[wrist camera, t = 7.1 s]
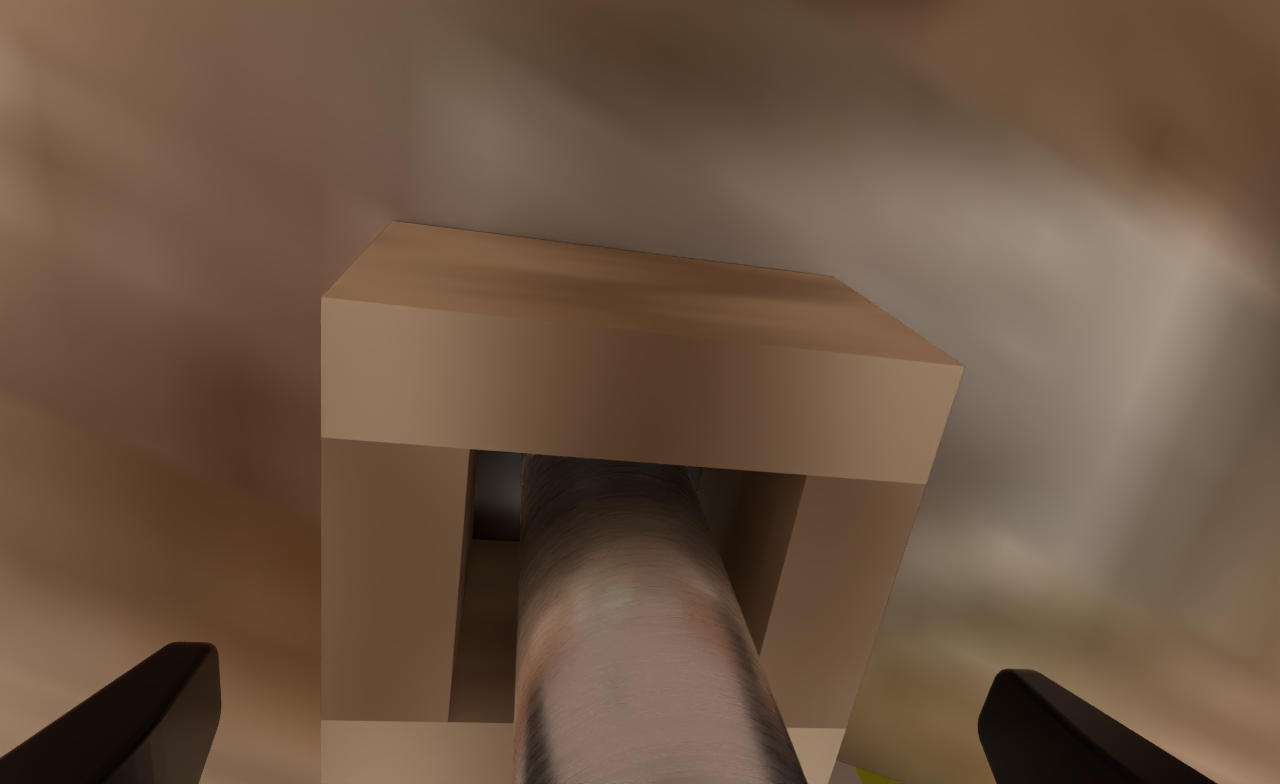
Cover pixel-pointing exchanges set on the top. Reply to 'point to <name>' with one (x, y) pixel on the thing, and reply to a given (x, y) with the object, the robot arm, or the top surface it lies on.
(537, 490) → the pin
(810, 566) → the wooden square frame
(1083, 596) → the top surface
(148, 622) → the top surface
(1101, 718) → the robot arm
